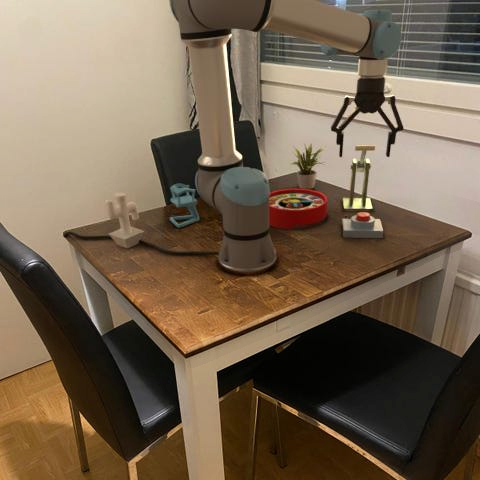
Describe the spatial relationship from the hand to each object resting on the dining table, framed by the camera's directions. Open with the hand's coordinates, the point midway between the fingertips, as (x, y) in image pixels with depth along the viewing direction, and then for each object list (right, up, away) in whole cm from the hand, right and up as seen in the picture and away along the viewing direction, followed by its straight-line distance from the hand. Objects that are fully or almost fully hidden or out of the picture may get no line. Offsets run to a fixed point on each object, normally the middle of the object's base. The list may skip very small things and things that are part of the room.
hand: (363, 156), depth 146 cm
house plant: (-12, -2, +31) cm, 34 cm away
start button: (-1, -20, -4) cm, 20 cm away
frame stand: (+2, -11, +16) cm, 19 cm away
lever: (0, -1, +3) cm, 4 cm away
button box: (-1, -23, -2) cm, 23 cm away
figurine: (-69, -27, -3) cm, 74 cm away
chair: (-54, -18, +10) cm, 58 cm away
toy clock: (-20, -16, +10) cm, 27 cm away
